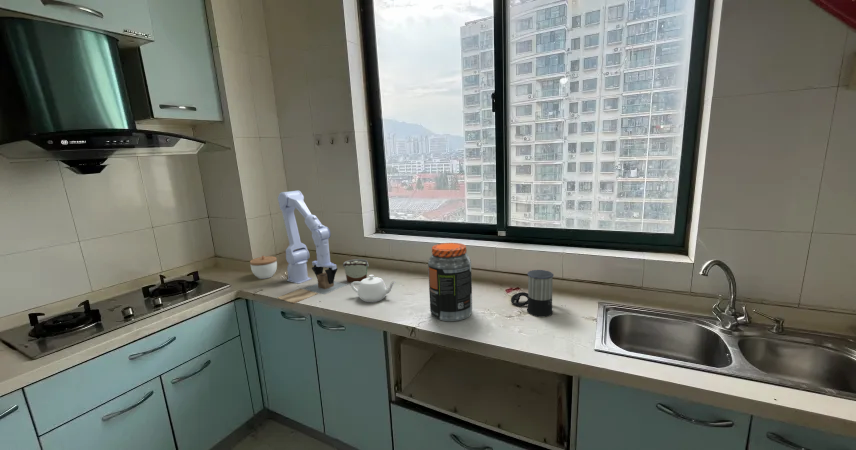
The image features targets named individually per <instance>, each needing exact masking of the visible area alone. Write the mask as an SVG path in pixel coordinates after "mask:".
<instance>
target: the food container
mask: <svg viewBox="0 0 856 450" xmlns="http://www.w3.org/2000/svg"><path fill="white" fill-rule="evenodd" d="M342 267H344V273H345V277H346V278H345V279H346V282H347V283H352V282H356V281H357V282H360V281H362V280H363V279H365V278H368V267H369V262H368V260H366V259H360V258H355V259H354V258H353V259H349V260H346V261H344V262H343V265H342Z"/></svg>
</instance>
